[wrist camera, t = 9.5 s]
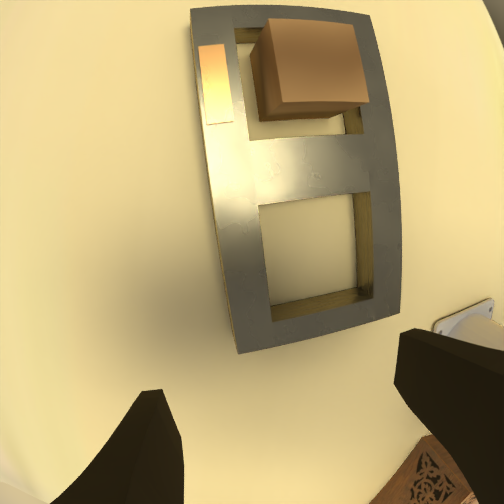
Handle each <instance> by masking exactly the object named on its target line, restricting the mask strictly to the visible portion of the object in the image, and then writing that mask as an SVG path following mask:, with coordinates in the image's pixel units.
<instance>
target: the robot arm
mask: <svg viewBox="0 0 504 504" xmlns="http://www.w3.org/2000/svg"><path fill="white" fill-rule="evenodd" d="M493 307H494V300H493V299H492V298H489V299H487V300H485V301H483V302H481V303H479V304H476V305H474V306H472V307H470V308H468V309H465V310H463V311H461V312H458V313H456V314H454V315H451V316H449V317H447V318H444V319H442V320H439V321H438V322H437V323H436V324H435V326H434V331H433V332H430V331H426V330H421V329H416V328H414V329H411V330H408V331H406V332H403V333H400V337H399V347H398V355H397V363H396V371H395V378H394V385H395V387H396V388H397V390H398V392H399V393H400V395H401V396H402V398H403V399H404V401H405V402H406V404H407V405H408V407H409V408H410V409H411V410H412V411H413V413H414V414H415V415H416V416H417V417H418V418H419V420H420V421H421V422H422V423H423V424H424V425H425V426H426V427H427V429H428V430H429V431H430V432H431V433H432V434H433V435H434V436H435V438H436V439H437V440H438V441H439V442H440V443H441V444H442V445H443V447H444V448H445V449H446V450H447V451H448V453H449V454H450V455H451V457H452V458H453V460H454V461H455V463H456V464H457V466H458V467H459V469H460V470H461V472H462V473H463V475H464V477H465V479H466V480H467V482H468V484H469V486H470V487H471V489H472V491H473V493H474V495H475V497H476V499H477V501H478V503H479V504H504V326H502V325H500V324H498V323H496V322H495V321H493V320H491V317H492V312H493ZM50 504H184V460H183V450H182V440H181V436H180V433H179V431H178V429H177V426H176V424H175V421H174V419H173V416H172V414H171V411H170V409H169V406H168V403H167V401H166V398H165V395H164V393H163V390H162V389H158V390H149V391H142V392H141V393H140V394H139V396H138V397H137V399H136V400H135V401H134V403H133V404H132V406H131V407H130V409H129V410H128V412H127V413H126V415H125V416H124V418H123V419H122V421H121V422H120V424H119V425H118V427H117V428H116V430H115V431H114V432H113V434H112V435H111V437H110V438H109V440H108V441H107V442H106V444H105V445H104V446H103V448H102V449H101V450H100V452H99V453H98V454H97V455H96V457H95V458H94V459H93V460H92V462H91V463H90V464H89V465H88V467H87V468H86V469H85V470H84V471H83V472H82V474H81V475H80V476H79V477H78V478H77V479H76V480H75V481H74V482H73V483H72V484H71V485H70V486H69V487H68V488H67V489H66V490H65V491H64V492H63V493H62V494H61V495H60V496H59V497H57V498H56V499H55V500H54V501H53V502H51V503H50Z"/></svg>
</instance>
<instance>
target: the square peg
mask: <svg viewBox="0 0 504 504" xmlns="http://www.w3.org/2000/svg"><path fill="white" fill-rule="evenodd" d="M250 59H251V65H252V72H253V79H254V85H255V92H256V99H257V106H258V113H259V121H260V122H264V121H277V120H293V119H316V118H331V117H333V116H336V115H338V114H341V113H343V112H346V111H348V110H351V109H353V108H356V107H358V106H361V105H364V104H366V103H369V97H368V91H367V86H366V80H365V75H364V70H363V66H362V61H361V56H360V52H359V48H358V44H357V39H356V35H355V31H354V28H353V25H351V24H343V23H335V22H326V21H315V20H301V19H272V18H268V20H267V22H266V24H265V26H264V28H263V30H262V32H261V34H260V36H259V38H258V40H257V42H256V44H255V46H254V48H253V50H252V52H251V54H250Z"/></svg>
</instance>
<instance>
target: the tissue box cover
mask: <svg viewBox="0 0 504 504" xmlns="http://www.w3.org/2000/svg"><path fill="white" fill-rule="evenodd" d="M369 504H479V503H478V501H477V499H476V497H475V495H474V493H473V491H472V489H471V487H470V486H469V484H468V482H467V480H466V479H465V477H464V475H463V473H462V472H461V470H460V469H459V467H458V466H457V464H456V463H455V461H454V460H453V458H452V457H451V455H450V454H449V453H448V451H447V450H446V449H445V448H444V447H443V445H442V444H441V443H440V442H439V441H438V440H437V439H436V438H435V436H434V435H429V436H424V437H422V438H421V439H420V441H419V442H418V444H417V445H416V446H415V448H414V449H413V451H412V452H411V453H410V455H409V456H408V457H407V459H406V460H405V461H404V463H403V464H402V465H401V467H400V468H399V469H398V470H397V472H396V473H395V474H394V475H393V477H392V478H391V479H390V480H389V481H388V483H387V484H386V485H385V486H384V487H383V489H382V490H381V491H380V492H379V493H378V494H377V495H376V497H375V498H374V499H373V500H372V501H371V502H370V503H369Z"/></svg>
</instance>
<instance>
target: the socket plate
mask: <svg viewBox="0 0 504 504" xmlns="http://www.w3.org/2000/svg"><path fill="white" fill-rule="evenodd" d="M268 18H272V19H301V20H315V21H326V22H335V23H343V24H351V25H353V28H354V31H355V35H356V39H357V44H358V48H359V52H360V56H361V61H362V66H363V70H364V75H365V80H366V86H367V91H368V97H369V103H366V104H364V105H361V106H358V107H356V108H353V109H351V110H348V111H346V112H343V115H344V122H345V129H346V135H321V136H303V137H289V138H276V139H265V140H255V141H249V135H248V127H247V120H246V112H245V105H244V98H243V91H242V83H241V76H240V69H239V62H238V55H237V48H236V43H254V42H257V40H258V38H259V36H260V34H261V32H262V30H263V28H264V26H265V24H266V22H267V20H268ZM190 31H191V41H192V51H193V60H194V70H195V79H196V88H197V96H198V105H199V113H200V121H201V129H202V137H203V145H204V152H205V160H206V167H207V174H208V182H209V189H210V196H211V203H212V209H213V216H214V223H215V229H216V236H217V242H218V249H219V255H220V261H221V267H222V273H223V280H224V286H225V291H226V297H227V303H228V309H229V315H230V320H231V326H232V332H233V337H234V341H235V345H236V348H237V352H238V354H242V353H247V352H252V351H257V350H262V349H267V348H271V347H276V346H281V345H285V344H289V343H294V342H298V341H302V340H306V339H310V338H314V337H318V336H322V335H326V334H330V333H334V332H337V331H341V330H345V329H348V328H352V327H355V326H359V325H362V324H366V323H369V322H373V321H376V320H379V319H382V318H386V317H389V316H392V315H395V314H398V313H400V301H401V277H402V224H401V200H400V185H399V172H398V162H397V152H396V143H395V135H394V128H393V121H392V114H391V108H390V102H389V96H388V91H387V86H386V80H385V76H384V71H383V66H382V62H381V57H380V53H379V49H378V45H377V41H376V37H375V33H374V29H373V26H372V22H371V19H370V15H365V14H359V13H353V12H347V11H340V10H333V9H324V8H315V7H303V6H286V5H231V6H215V7H203V8H193V9H190ZM350 193H353V202H354V216H355V232H356V253H357V287H356V288H351V289H347V290H343V291H339V292H334V293H330V294H326V295H321V296H317V297H312V298H308V299H303V300H298V301H294V302H289V303H284V304H279V305H274V306H270V301H269V292H268V284H267V276H266V268H265V259H264V251H263V243H262V235H261V227H260V219H259V211H258V205H263V204H271V203H278V202H285V201H293V200H300V199H308V198H316V197H324V196H333V195H341V194H350Z"/></svg>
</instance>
